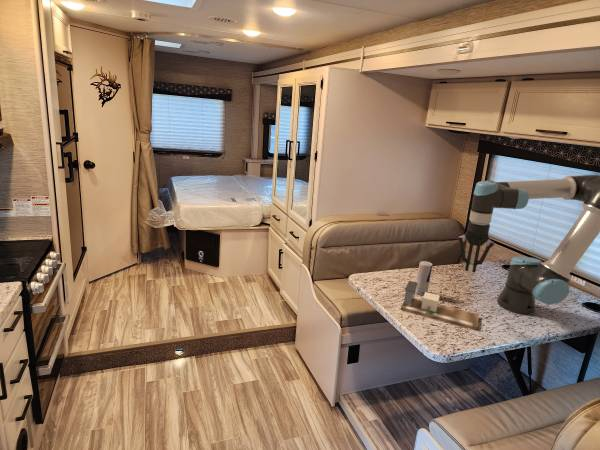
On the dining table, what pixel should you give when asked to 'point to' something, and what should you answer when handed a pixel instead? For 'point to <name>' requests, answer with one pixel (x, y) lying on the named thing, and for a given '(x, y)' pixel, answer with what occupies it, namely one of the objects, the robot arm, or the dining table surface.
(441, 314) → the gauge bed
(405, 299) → the two-tone oblong block
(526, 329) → the dining table surface
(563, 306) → the dining table surface
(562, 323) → the dining table surface
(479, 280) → the dining table surface
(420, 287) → the beverage can
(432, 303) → the cream cube with rod
